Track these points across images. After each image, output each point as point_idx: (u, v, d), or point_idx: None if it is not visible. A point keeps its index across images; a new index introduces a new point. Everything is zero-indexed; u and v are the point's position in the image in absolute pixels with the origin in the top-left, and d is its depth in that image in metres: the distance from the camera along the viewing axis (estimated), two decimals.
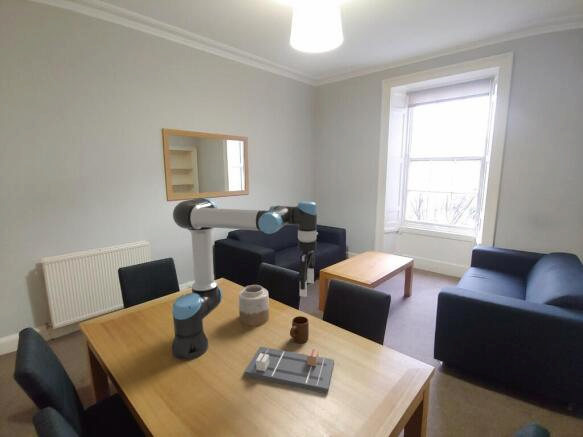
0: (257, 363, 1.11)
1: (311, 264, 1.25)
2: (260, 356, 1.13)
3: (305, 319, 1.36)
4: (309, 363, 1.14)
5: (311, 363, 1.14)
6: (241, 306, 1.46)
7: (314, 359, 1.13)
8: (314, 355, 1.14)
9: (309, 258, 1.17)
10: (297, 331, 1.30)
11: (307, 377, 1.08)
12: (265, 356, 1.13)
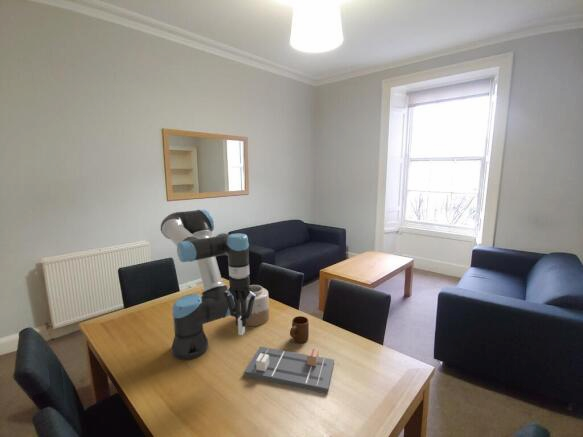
0: (257, 363, 1.11)
1: None
2: (260, 356, 1.13)
3: (305, 319, 1.36)
4: (309, 363, 1.14)
5: (311, 363, 1.14)
6: None
7: (314, 359, 1.13)
8: (314, 355, 1.14)
9: (233, 295, 1.09)
10: (297, 331, 1.30)
11: (307, 377, 1.08)
12: (265, 356, 1.13)
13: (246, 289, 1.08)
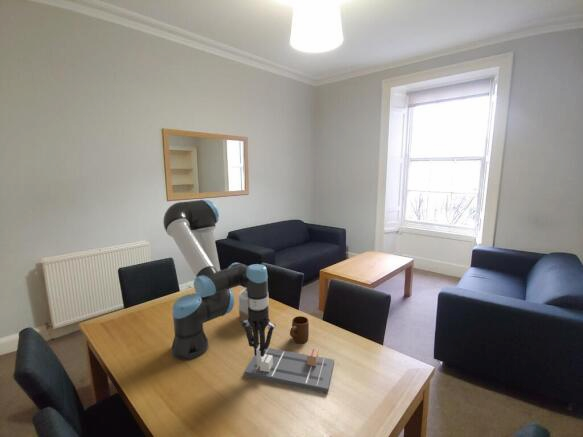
0: (260, 364, 1.11)
1: None
2: (264, 357, 1.13)
3: (305, 319, 1.36)
4: (309, 363, 1.14)
5: (311, 363, 1.14)
6: (241, 306, 1.46)
7: (314, 359, 1.13)
8: (314, 355, 1.14)
9: (252, 326, 1.09)
10: (297, 331, 1.30)
11: (307, 377, 1.08)
12: (269, 357, 1.13)
13: (265, 320, 1.08)
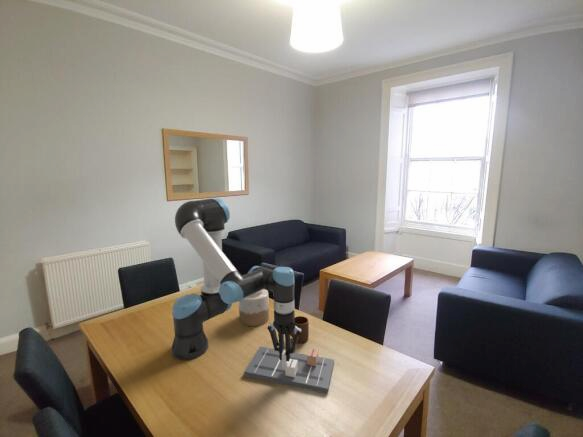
0: (286, 369, 1.08)
1: None
2: (289, 361, 1.10)
3: (305, 319, 1.36)
4: (309, 363, 1.14)
5: (311, 363, 1.14)
6: (241, 306, 1.46)
7: (314, 359, 1.13)
8: (314, 355, 1.14)
9: (278, 330, 1.06)
10: None
11: (307, 377, 1.08)
12: (294, 361, 1.10)
13: (291, 324, 1.05)
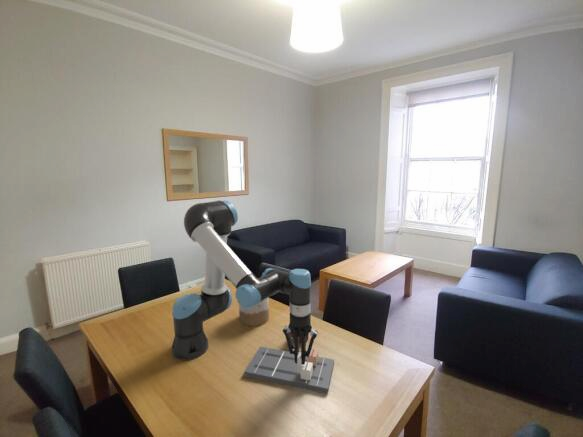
0: (301, 372, 1.06)
1: None
2: (304, 364, 1.08)
3: None
4: None
5: None
6: (241, 306, 1.46)
7: (314, 359, 1.13)
8: (314, 355, 1.14)
9: (293, 333, 1.05)
10: None
11: None
12: (309, 364, 1.08)
13: (308, 327, 1.04)
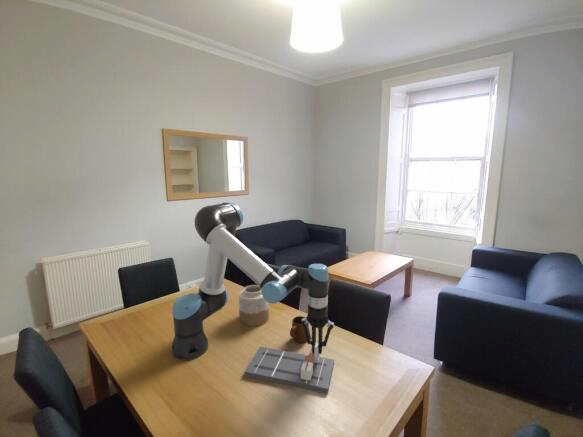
0: (301, 372, 1.06)
1: None
2: (304, 364, 1.08)
3: None
4: None
5: None
6: (241, 306, 1.46)
7: (312, 359, 1.13)
8: (312, 355, 1.14)
9: (311, 324, 1.11)
10: (297, 331, 1.30)
11: None
12: (309, 364, 1.08)
13: (325, 318, 1.10)
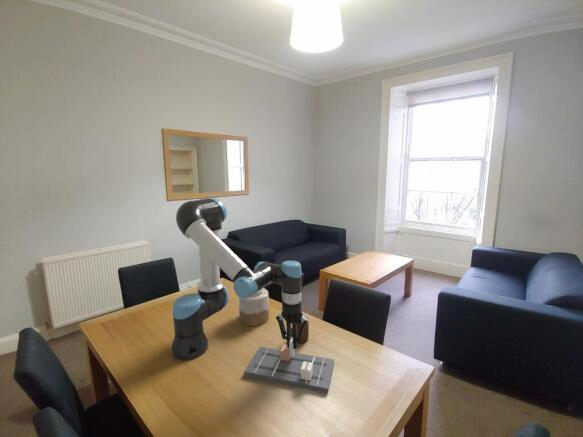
0: (301, 372, 1.06)
1: None
2: (304, 364, 1.08)
3: None
4: (282, 358, 1.17)
5: (284, 358, 1.17)
6: (241, 306, 1.46)
7: (287, 354, 1.16)
8: (287, 350, 1.17)
9: (286, 319, 1.14)
10: (297, 331, 1.30)
11: None
12: (309, 364, 1.08)
13: (299, 314, 1.13)
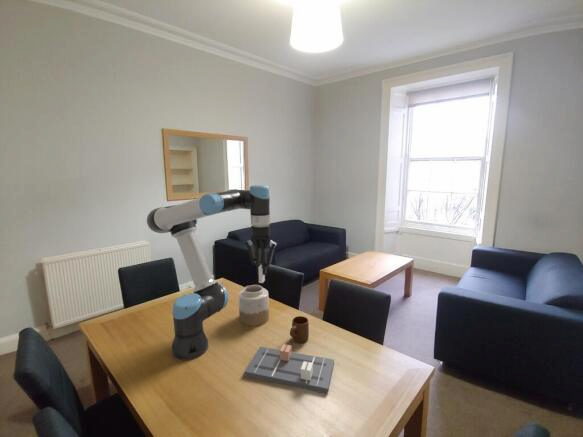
0: (301, 372, 1.06)
1: None
2: (304, 364, 1.08)
3: (305, 319, 1.36)
4: (282, 358, 1.17)
5: (284, 358, 1.17)
6: (241, 306, 1.46)
7: (286, 354, 1.16)
8: (287, 350, 1.17)
9: (254, 244, 1.15)
10: (297, 331, 1.30)
11: None
12: (309, 364, 1.08)
13: (267, 238, 1.14)
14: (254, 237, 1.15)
